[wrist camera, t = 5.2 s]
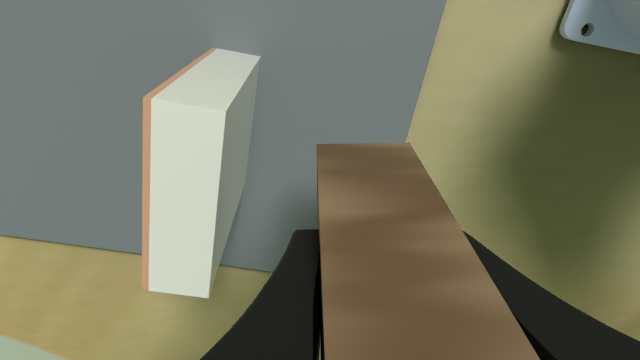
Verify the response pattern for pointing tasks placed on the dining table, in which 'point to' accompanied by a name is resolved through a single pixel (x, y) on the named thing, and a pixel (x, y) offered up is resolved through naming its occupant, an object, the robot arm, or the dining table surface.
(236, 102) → the tile
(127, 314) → the dining table surface
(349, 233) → the block
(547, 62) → the dining table surface
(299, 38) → the mat
